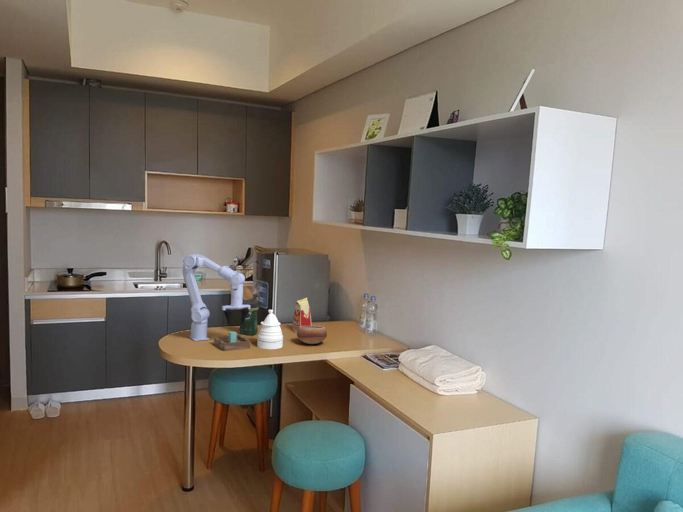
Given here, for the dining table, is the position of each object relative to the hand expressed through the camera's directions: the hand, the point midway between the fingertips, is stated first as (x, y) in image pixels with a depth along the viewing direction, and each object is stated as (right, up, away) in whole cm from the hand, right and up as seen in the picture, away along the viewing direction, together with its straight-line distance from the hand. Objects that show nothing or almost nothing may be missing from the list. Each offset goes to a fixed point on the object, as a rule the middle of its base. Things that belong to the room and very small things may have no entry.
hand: (235, 323), depth 269 cm
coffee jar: (+3, -9, +21) cm, 23 cm away
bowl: (+38, -12, +8) cm, 41 cm away
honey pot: (+18, -11, -1) cm, 21 cm away
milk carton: (+31, -9, +33) cm, 46 cm away
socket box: (-1, -10, -6) cm, 12 cm away
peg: (-1, -11, -6) cm, 12 cm away
